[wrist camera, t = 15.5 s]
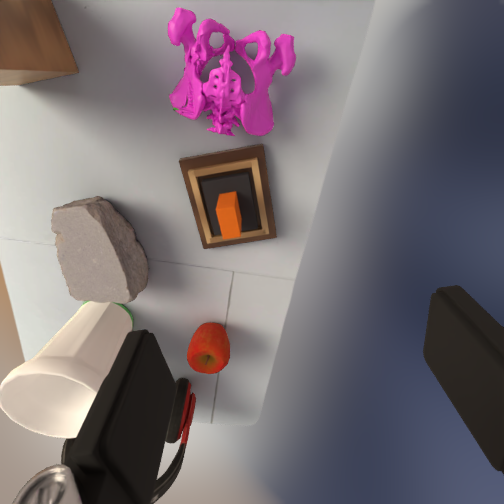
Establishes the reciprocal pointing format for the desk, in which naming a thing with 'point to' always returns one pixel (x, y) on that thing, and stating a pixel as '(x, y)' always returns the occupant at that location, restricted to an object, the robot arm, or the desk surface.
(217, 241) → the backing board
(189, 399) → the headphones
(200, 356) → the apple
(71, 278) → the decorative stone
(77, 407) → the cup
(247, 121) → the pelvis
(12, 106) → the desk surface
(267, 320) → the desk surface
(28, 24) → the wooden block
